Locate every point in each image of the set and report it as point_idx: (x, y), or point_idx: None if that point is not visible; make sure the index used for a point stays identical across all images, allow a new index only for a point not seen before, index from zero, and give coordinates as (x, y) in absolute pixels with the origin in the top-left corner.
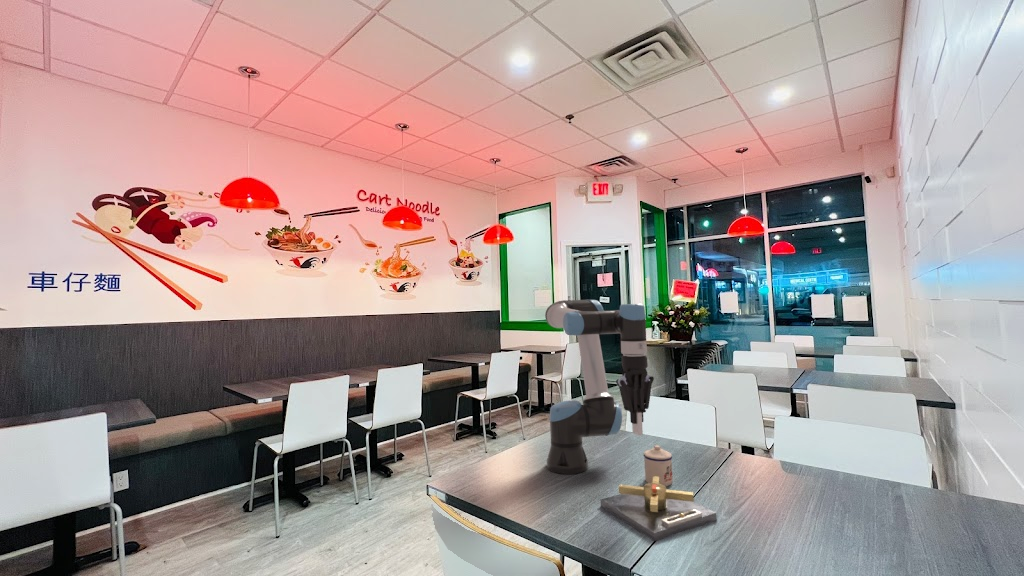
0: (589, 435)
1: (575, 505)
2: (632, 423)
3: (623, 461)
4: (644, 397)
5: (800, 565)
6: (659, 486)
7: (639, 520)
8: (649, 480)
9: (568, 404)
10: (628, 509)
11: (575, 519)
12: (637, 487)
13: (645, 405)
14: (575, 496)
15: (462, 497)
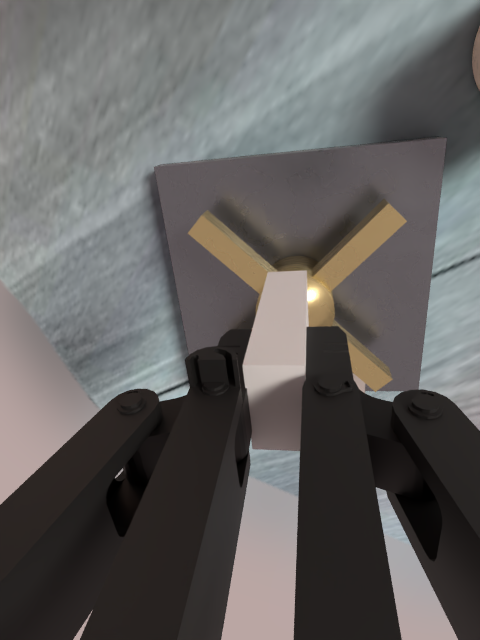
0: None
1: (84, 117)
2: (260, 306)
3: None
4: (461, 593)
5: (386, 530)
6: (313, 316)
7: (196, 332)
8: (477, 53)
9: None
10: (203, 270)
11: (58, 208)
12: (249, 268)
13: (395, 506)
14: (107, 36)
15: None
